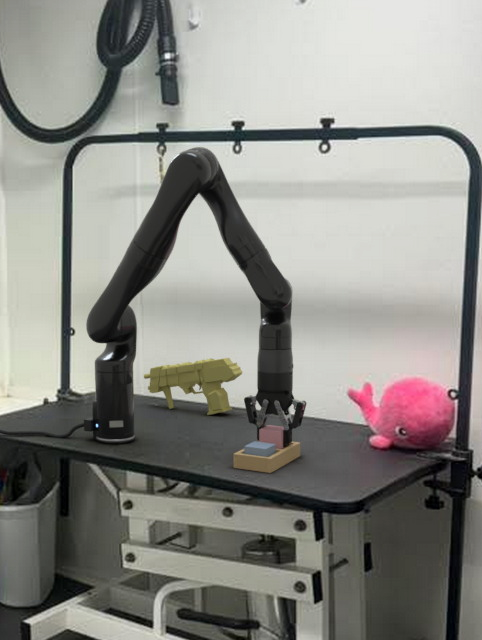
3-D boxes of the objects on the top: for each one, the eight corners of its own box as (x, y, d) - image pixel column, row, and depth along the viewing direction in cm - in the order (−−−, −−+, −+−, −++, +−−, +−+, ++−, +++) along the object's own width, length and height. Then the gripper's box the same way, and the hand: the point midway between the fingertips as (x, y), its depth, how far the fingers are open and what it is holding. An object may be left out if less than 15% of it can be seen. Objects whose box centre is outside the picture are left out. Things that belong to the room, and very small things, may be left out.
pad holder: (233, 467, 200) (233, 453, 200) (264, 451, 213) (264, 438, 212) (270, 473, 195) (270, 458, 195) (300, 456, 208) (300, 442, 207)
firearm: (158, 419, 268) (148, 367, 268) (249, 407, 249) (238, 352, 248) (149, 422, 265) (139, 370, 264) (241, 410, 246) (230, 354, 245)
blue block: (244, 464, 200) (244, 446, 200) (254, 458, 204) (254, 441, 204) (265, 467, 198) (266, 448, 197) (275, 461, 201) (275, 443, 201)
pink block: (259, 447, 206) (259, 429, 205) (268, 442, 210) (268, 424, 209) (280, 449, 203) (280, 431, 202) (289, 444, 207) (289, 427, 206)
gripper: (237, 368, 205) (237, 444, 208) (299, 373, 196) (298, 452, 199) (251, 363, 211) (251, 437, 214) (313, 368, 202) (312, 444, 205)
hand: (274, 444), depth 207 cm, fingers closed on pink block, 5 cm apart
